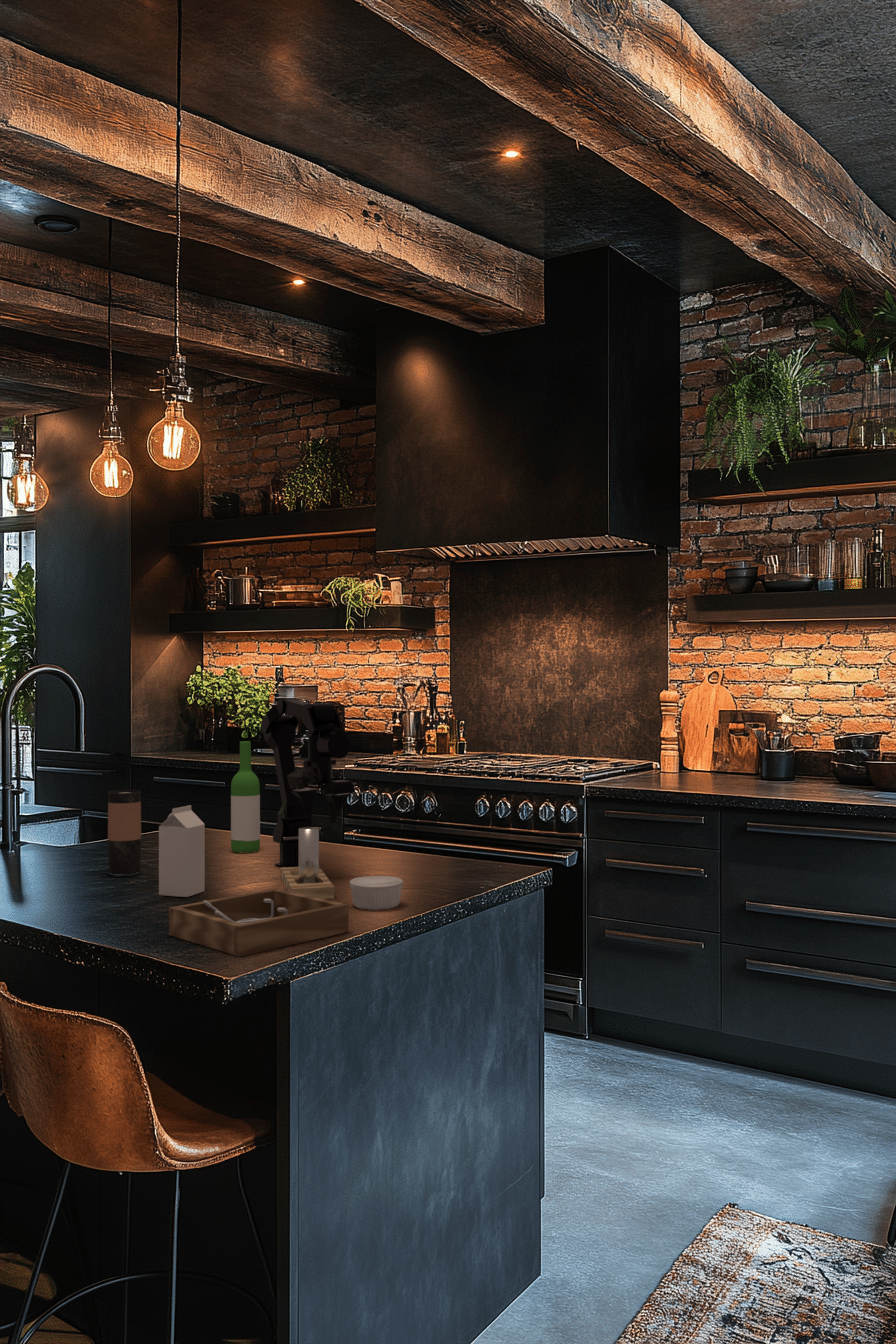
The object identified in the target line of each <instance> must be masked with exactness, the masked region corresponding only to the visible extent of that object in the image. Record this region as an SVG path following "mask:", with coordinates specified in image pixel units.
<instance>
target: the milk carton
mask: <svg viewBox="0 0 896 1344" xmlns="http://www.w3.org/2000/svg"><path fill="white" fill-rule="evenodd" d="M171 811H172V812H171V813H169V815H168V816H167V819H165V820H164V821H163V822H162V823H161V824H160V825H159V826H158V896H167V897H178V898H180V897H181V898H189V897H191V896H194V895H197V894H201V893H203V892H205V891H206V890H205V886H206V885H205V884H206V883H205V881H206V879H205V878H206V877H205V866H206V865H205V860H206V859H205V857H206V856H205V852H206V851H205V836H206V835H205V823H204V822H203V820H201V818H199V816H198V815H197V814H196V813H195V812H194V811H193V810H192V805H185V806H180V807H174V808H172V810H171Z"/></svg>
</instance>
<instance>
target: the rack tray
mask: <svg viewBox="0 0 896 1344" xmlns="http://www.w3.org/2000/svg"><path fill="white" fill-rule="evenodd" d="M264 899H271V900H272V901H273V902H274V917H273V918H269V917H271V903H265V902H264ZM207 901H208V902H209V903H210V904H211V905H212V906H213V907H215V908H216V909H217V910H219V911H220V912H221V913H223V914H224V915H226V916H227V917H228V918H230V919H231V920H232V921H229V920H226V919H222V918H219V917H218V916H217V915H215V911H214V910H212V909H211V908H208V907H207V906H206V905H204V904H203V901H200V902H194V903H193V902H192V903H187V904H182V905H176V906H171V907H168V936H171V937H174V938H178V939H181V940H184V941H188V942H191V943H193V944H197V945H200V946H203V947H207V948H210V949H214V950H217V951H220V952H223V953H226V954H230V955H232V956H233V955H234V956H237V957H244V956H250V955H252V954H258V953H261V952H267V951H271V950H275V949H279V948H284V947H287V946H293V945H296V944H300V943H305V942H309V941H314V940H318V939H323V938H327V937H331V936H332V937H333V936H335V935H340V934H345V933H349V928H350V927H349V926H350V925H349V918H350V917H349V916H350V915H349V911H350V910H349V906H350V905H349V904H348V903H347V904H346V903H342V902H339V901H338V902H337V901H334V900H330V899H320V898H316V897H311V896H307V895H302V894H298V893H293V892H289V891H287V890H285V889H280V888H272V889H267V890H260V891H255V892H248V893H243V894H239V895H232V896H226V897H221V898H215V899H209V900H207ZM278 908H285V909H286V910H287V911H288V915H285V912H278V911H277V909H278ZM248 918H257V919H262V918H269V919H264V920H259V921H254V922H249V923H244V924H240V923H237V921H239V920H242V919H248ZM233 921H234V922H233Z"/></svg>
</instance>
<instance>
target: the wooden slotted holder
mask: <svg viewBox="0 0 896 1344" xmlns="http://www.w3.org/2000/svg"><path fill="white" fill-rule="evenodd" d="M280 880H281V882H282V884H283V886H284V888H285V891H289V892H293V893H298V894H302V895H307V896H311V897H316V898H320V899H325V900H330V899H335V886H334V884H333V883H332V882H331V880H330V879H329V878H328V877H327V875H326V874H325V872H324V871H323V869H321V867H320V866H319V883H307V884H299V867H280Z"/></svg>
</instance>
